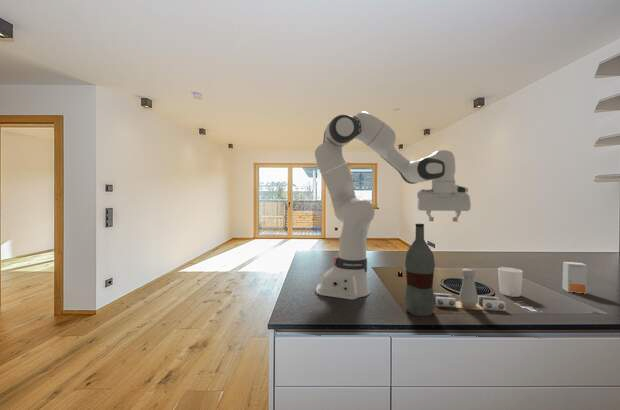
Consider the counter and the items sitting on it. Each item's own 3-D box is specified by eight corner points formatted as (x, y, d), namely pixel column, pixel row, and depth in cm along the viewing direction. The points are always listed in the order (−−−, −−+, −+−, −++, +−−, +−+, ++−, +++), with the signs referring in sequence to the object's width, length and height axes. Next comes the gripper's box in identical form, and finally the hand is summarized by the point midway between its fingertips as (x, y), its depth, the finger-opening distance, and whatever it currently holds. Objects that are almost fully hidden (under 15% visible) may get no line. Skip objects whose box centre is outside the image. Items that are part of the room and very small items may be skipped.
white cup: (516, 299, 98) (516, 273, 98) (493, 292, 105) (493, 268, 105) (526, 295, 102) (526, 270, 102) (503, 289, 109) (504, 266, 109)
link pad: (457, 308, 90) (457, 307, 90) (451, 301, 96) (451, 300, 96) (484, 310, 88) (484, 309, 88) (476, 303, 94) (476, 302, 94)
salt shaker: (480, 309, 88) (480, 272, 88) (462, 307, 89) (462, 270, 89) (474, 303, 93) (474, 267, 93) (456, 301, 95) (457, 266, 95)
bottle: (434, 308, 90) (434, 223, 89) (435, 319, 81) (435, 225, 81) (405, 303, 93) (406, 222, 93) (403, 313, 85) (404, 224, 85)
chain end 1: (436, 306, 91) (436, 298, 91) (432, 300, 97) (432, 292, 96) (456, 307, 90) (456, 299, 90) (450, 301, 95) (450, 293, 95)
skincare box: (567, 292, 105) (568, 263, 105) (562, 289, 109) (562, 261, 109) (587, 294, 103) (587, 264, 103) (580, 291, 107) (581, 262, 107)
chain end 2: (484, 309, 88) (484, 301, 88) (477, 303, 94) (477, 295, 94) (505, 311, 87) (505, 302, 87) (497, 304, 92) (497, 296, 92)
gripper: (419, 189, 107) (419, 221, 108) (472, 188, 104) (472, 222, 104) (415, 189, 114) (415, 220, 114) (466, 189, 110) (465, 221, 110)
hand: (443, 221), depth 109 cm, fingers open, 8 cm apart
